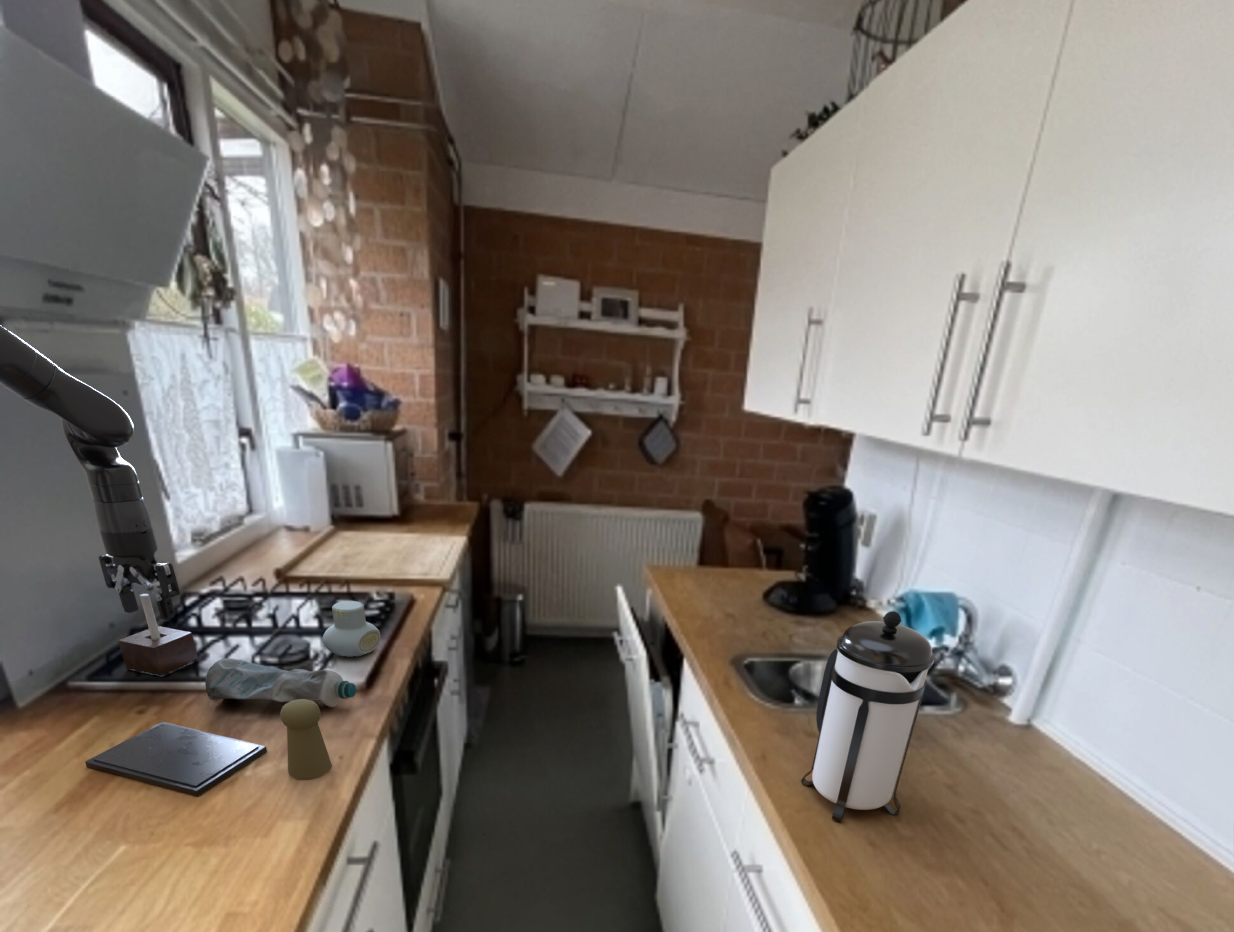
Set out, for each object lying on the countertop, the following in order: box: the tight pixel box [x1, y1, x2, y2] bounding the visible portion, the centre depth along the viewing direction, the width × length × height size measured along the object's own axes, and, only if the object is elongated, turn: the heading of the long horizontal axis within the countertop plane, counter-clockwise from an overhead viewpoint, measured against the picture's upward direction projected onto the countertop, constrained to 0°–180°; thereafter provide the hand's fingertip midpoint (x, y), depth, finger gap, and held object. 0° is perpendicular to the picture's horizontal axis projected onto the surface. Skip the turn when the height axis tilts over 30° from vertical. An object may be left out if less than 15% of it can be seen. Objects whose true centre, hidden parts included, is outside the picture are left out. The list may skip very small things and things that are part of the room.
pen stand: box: [117, 625, 199, 675], centre depth 131 cm, size 8×8×6 cm
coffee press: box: [800, 610, 935, 823], centre depth 101 cm, size 17×16×30 cm
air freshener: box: [322, 600, 382, 658], centre depth 141 cm, size 11×8×10 cm
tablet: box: [84, 721, 268, 797], centre depth 105 cm, size 20×13×1 cm, turn 73°
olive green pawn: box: [279, 699, 333, 781], centre depth 102 cm, size 6×6×11 cm
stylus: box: [139, 593, 161, 640], centre depth 129 cm, size 1×1×14 cm
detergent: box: [204, 657, 357, 708], centre depth 121 cm, size 13×7×25 cm
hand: (150, 615), depth 127 cm, fingers open, 8 cm apart
